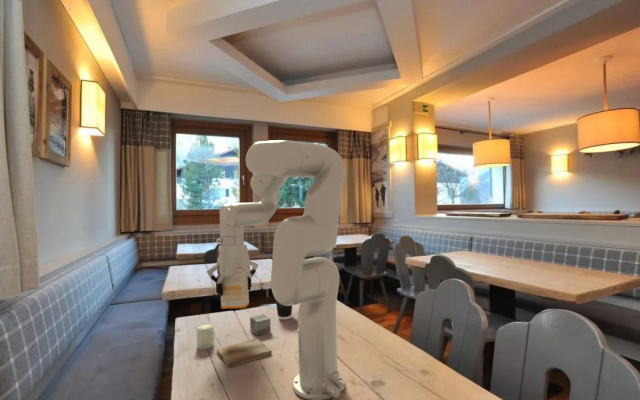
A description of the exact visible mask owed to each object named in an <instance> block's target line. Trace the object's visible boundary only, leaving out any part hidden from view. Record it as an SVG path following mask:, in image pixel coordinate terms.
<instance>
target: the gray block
mask: <svg viewBox="0 0 640 400" xmlns="http://www.w3.org/2000/svg"><path fill="white" fill-rule="evenodd" d="M249 320H250V321H249V323H250V324H249V326H250V330H249V331H250V332H252V334H254V335H255V336H257V337H259V336H262V335H268V334H270V333H271V330H272V329H271V327H272V326H271V318H270V317H269V316H267V315H266V314H264V313H260V314H257V315H252V316H249Z"/></svg>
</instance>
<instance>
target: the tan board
mask: <svg viewBox="0 0 640 400" xmlns="http://www.w3.org/2000/svg"><path fill="white" fill-rule="evenodd" d="M216 354H217V355H218V357H219V358H220V359H221V360H222V361H223V362H224V363H225V365H226V366H227V367H228V368H229V369H230V368H233V367H236V366H239V365H243V364H247V363H248V362H253V361H255V360H259V359H261V358H265V357H268V356H272V354H273V352H272V349H270V348H269V347H268V346H267V345H266V344H265V343H264V342H262V341H261V340H260V339H259V338H258V337H255V338H252V339H248V340H245V341H241V342H237V343H234V344H230V345H227V346H223V347H220V348H217V349H216Z"/></svg>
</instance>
